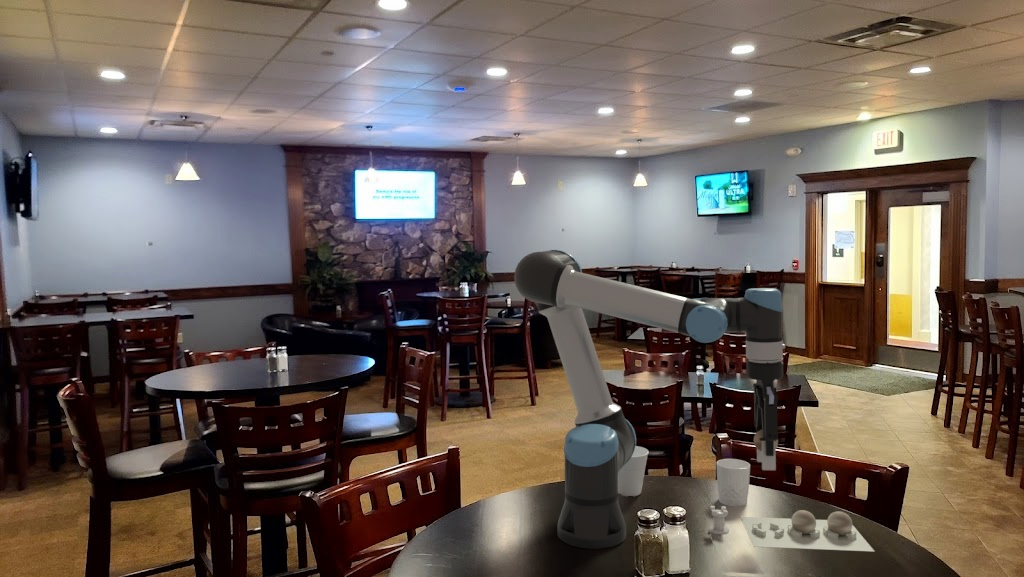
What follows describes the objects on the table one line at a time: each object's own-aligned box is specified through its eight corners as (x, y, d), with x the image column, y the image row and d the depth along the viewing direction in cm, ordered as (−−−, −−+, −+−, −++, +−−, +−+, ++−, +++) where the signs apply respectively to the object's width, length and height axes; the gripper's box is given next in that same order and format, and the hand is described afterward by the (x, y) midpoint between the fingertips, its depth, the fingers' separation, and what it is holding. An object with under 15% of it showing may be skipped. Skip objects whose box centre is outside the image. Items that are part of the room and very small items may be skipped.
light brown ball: (756, 455, 156) (755, 432, 156) (751, 448, 161) (751, 426, 161) (780, 455, 155) (780, 432, 155) (775, 448, 160) (775, 426, 160)
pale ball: (831, 538, 156) (831, 516, 155) (824, 529, 161) (824, 507, 160) (855, 539, 155) (856, 517, 155) (847, 530, 160) (848, 508, 160)
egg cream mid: (794, 537, 157) (794, 514, 156) (788, 528, 162) (789, 506, 161) (818, 538, 156) (819, 515, 156) (812, 528, 161) (812, 506, 160)
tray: (754, 549, 152) (754, 541, 152) (740, 519, 168) (740, 512, 168) (874, 554, 149) (875, 546, 149) (849, 523, 165) (849, 516, 165)
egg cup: (710, 536, 159) (710, 512, 159) (707, 528, 164) (707, 504, 163) (730, 537, 159) (730, 512, 158) (727, 528, 163) (727, 505, 163)
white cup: (745, 498, 182) (746, 458, 181) (753, 510, 174) (753, 469, 173) (713, 497, 182) (713, 458, 182) (719, 509, 175) (719, 468, 174)
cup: (609, 498, 182) (608, 456, 181) (610, 485, 192) (610, 444, 191) (649, 500, 181) (649, 457, 180) (648, 486, 190) (648, 445, 190)
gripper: (792, 367, 147) (794, 479, 149) (773, 352, 165) (775, 453, 167) (754, 367, 148) (756, 479, 150) (739, 353, 166) (741, 453, 168)
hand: (766, 465), depth 158 cm, fingers closed on light brown ball, 5 cm apart
